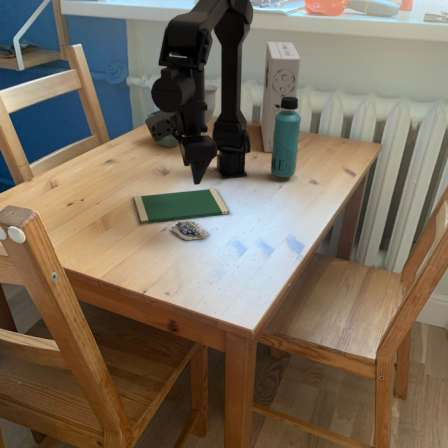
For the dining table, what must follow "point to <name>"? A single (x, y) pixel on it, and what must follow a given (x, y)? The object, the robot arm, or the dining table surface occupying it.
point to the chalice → (209, 102)
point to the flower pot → (166, 141)
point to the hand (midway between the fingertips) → (191, 174)
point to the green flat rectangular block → (179, 206)
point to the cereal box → (278, 85)
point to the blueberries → (188, 230)
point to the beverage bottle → (286, 139)
